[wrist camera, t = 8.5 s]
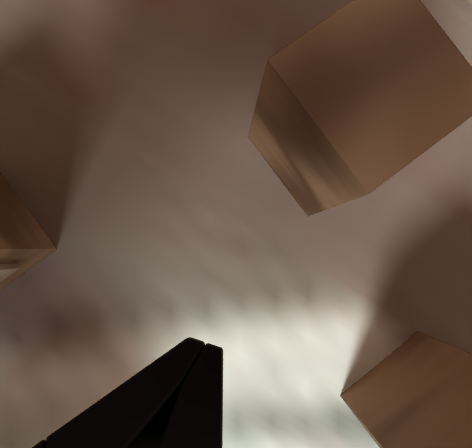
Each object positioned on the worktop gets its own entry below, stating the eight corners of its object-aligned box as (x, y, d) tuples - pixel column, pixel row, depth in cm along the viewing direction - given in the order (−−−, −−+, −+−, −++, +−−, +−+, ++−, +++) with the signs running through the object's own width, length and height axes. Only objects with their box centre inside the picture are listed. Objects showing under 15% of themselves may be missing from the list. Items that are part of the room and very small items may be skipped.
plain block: (384, 158, 22) (495, 97, 13) (307, 216, 22) (369, 193, 13) (325, 81, 22) (396, -31, 13) (247, 136, 22) (267, 59, 13)
